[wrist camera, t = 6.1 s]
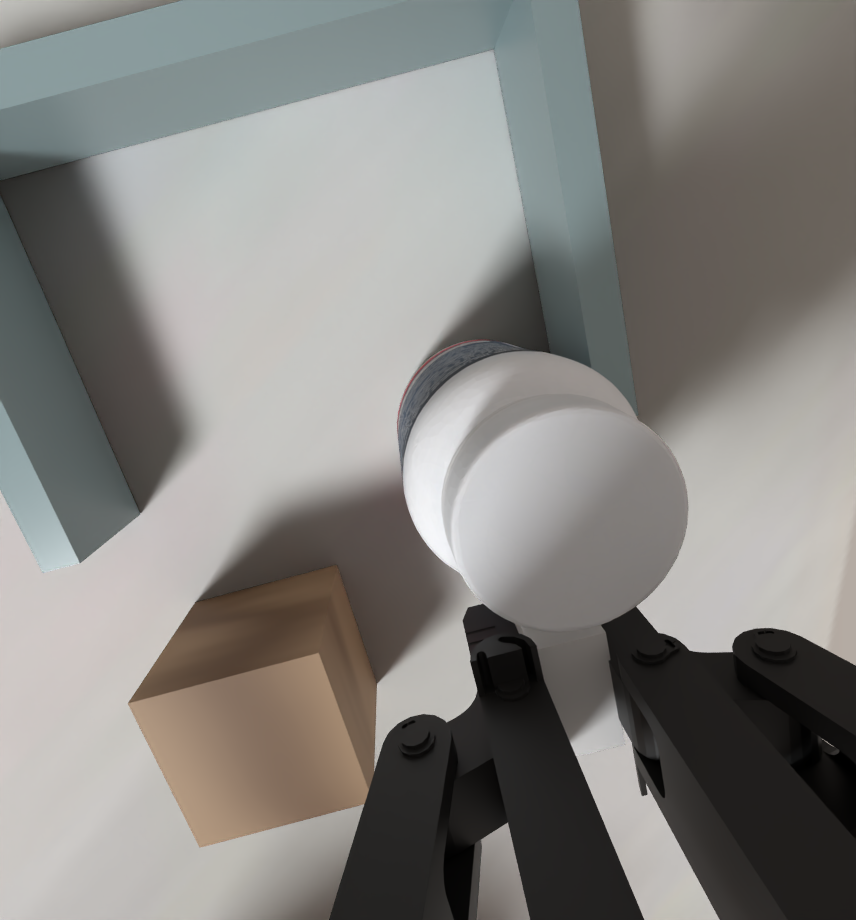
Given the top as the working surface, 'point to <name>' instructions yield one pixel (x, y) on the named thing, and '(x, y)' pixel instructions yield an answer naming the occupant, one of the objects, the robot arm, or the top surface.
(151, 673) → the tan block
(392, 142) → the top surface
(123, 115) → the box
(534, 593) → the pill bottle
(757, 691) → the robot arm
